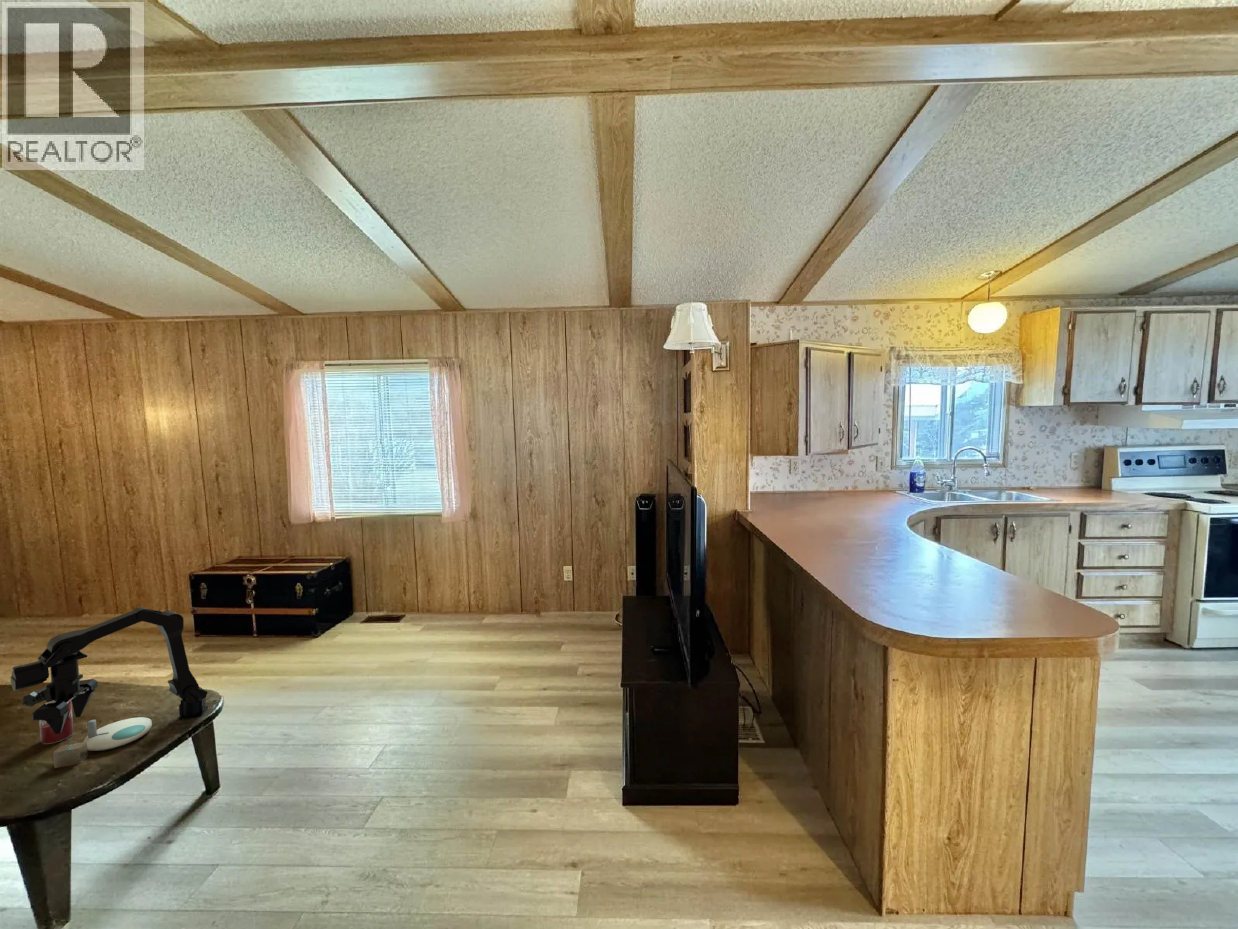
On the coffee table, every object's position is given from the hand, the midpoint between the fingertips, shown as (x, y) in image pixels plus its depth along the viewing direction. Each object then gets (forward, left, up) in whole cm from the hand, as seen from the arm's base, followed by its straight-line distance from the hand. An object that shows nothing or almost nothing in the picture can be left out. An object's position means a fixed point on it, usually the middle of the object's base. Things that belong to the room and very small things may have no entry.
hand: (68, 725), depth 153 cm
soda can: (+12, -17, -12) cm, 24 cm away
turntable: (-7, -10, -11) cm, 16 cm away
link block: (0, 0, -12) cm, 12 cm away
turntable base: (-5, -10, -12) cm, 16 cm away
